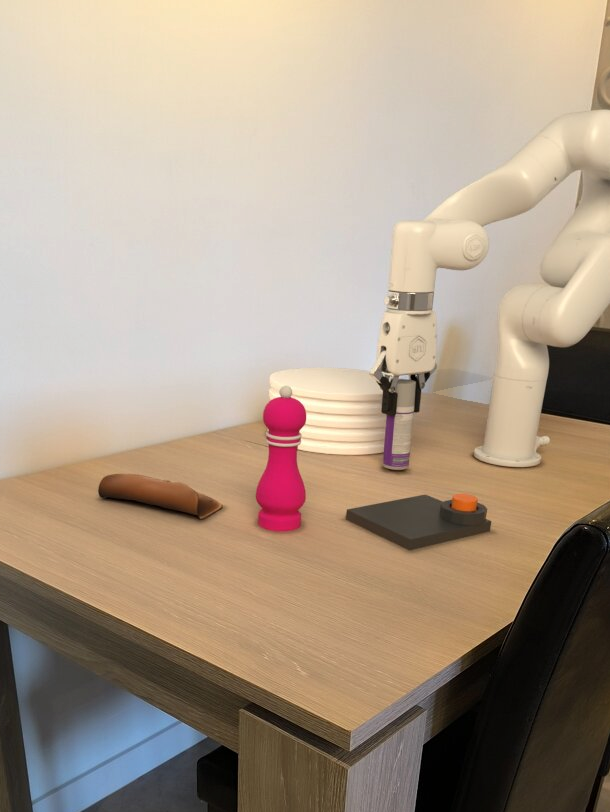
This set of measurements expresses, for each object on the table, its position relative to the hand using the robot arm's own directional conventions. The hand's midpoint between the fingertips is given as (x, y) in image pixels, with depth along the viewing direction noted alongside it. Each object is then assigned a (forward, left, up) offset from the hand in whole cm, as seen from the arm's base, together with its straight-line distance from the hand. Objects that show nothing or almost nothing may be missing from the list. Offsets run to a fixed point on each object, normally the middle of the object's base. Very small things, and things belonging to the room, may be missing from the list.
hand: (400, 411), depth 144 cm
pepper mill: (+35, +14, -11) cm, 39 cm away
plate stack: (-5, -24, -11) cm, 27 cm away
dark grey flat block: (+17, +24, -11) cm, 31 cm away
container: (0, 0, -10) cm, 10 cm away
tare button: (+12, +28, -7) cm, 31 cm away
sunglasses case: (+46, -2, -11) cm, 47 cm away
